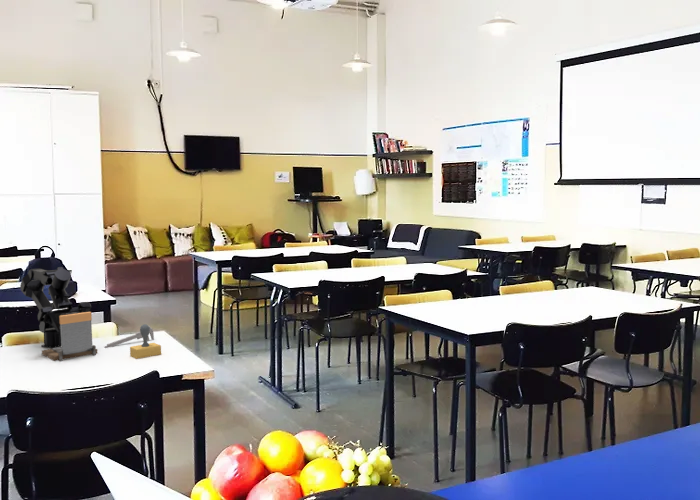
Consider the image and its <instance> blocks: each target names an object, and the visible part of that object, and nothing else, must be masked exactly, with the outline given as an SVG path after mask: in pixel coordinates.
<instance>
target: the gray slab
mask: <svg viewBox="0 0 700 500" xmlns="http://www.w3.org/2000/svg"><path fill="white" fill-rule="evenodd" d="M92 315H93V314H92V311H90V312H84V313H77V312H76V313H69V314H68V315H62V316H59V318H60V329H61V346H60V347H61V349H62V356H63V355H68V354H74V353H80V352H86V351H92V350H93V347H92V345H93V331H92V330H93V329H92V328H93V327H92V320H93V318H92V317H93V316H92Z"/></svg>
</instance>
